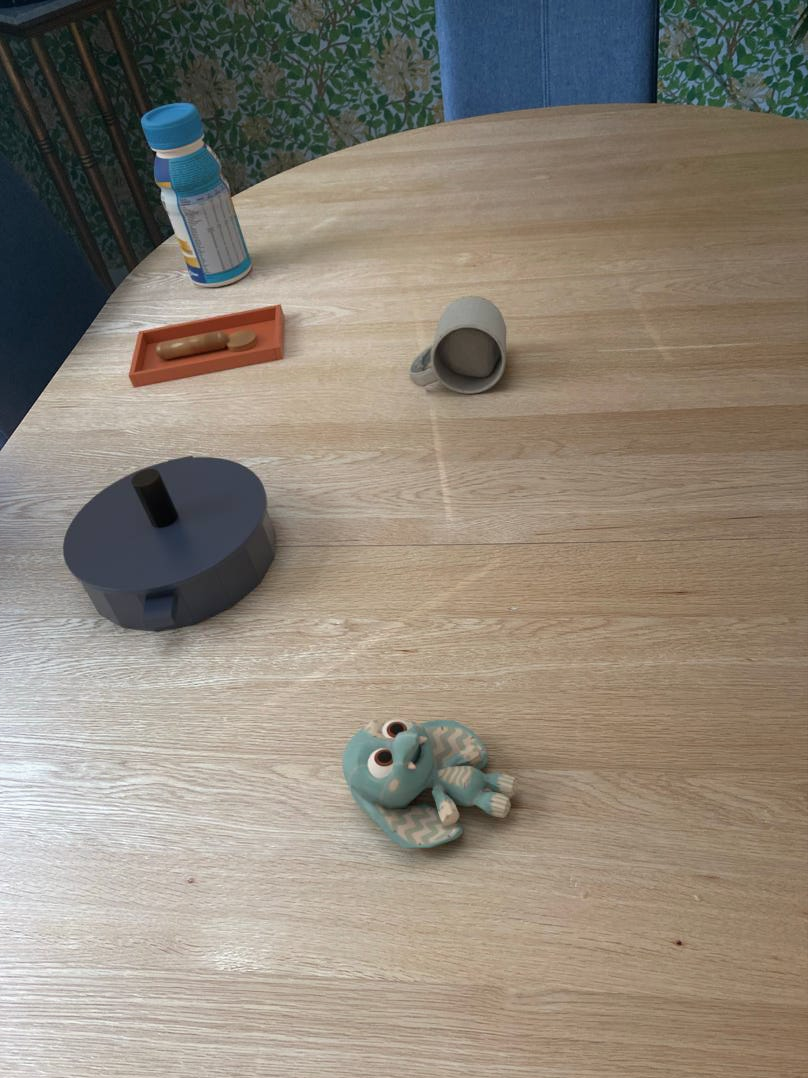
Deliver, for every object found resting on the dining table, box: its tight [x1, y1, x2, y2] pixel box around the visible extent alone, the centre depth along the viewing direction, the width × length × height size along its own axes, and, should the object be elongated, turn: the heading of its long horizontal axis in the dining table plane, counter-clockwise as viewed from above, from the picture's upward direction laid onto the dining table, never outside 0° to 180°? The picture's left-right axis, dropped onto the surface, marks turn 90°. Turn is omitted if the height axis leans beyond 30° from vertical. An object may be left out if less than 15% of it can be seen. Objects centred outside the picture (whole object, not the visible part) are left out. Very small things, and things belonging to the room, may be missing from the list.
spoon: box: [155, 330, 258, 360], centre depth 117 cm, size 12×4×2 cm, turn 97°
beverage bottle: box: [140, 102, 253, 288], centre depth 126 cm, size 8×8×20 cm
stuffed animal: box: [341, 716, 518, 849], centre depth 68 cm, size 11×7×12 cm
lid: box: [62, 456, 268, 595], centre depth 86 cm, size 18×18×6 cm
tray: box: [128, 303, 285, 388], centre depth 117 cm, size 17×10×2 cm, turn 97°
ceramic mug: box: [408, 295, 507, 395], centre depth 105 cm, size 11×8×8 cm
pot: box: [81, 455, 277, 632], centre depth 90 cm, size 17×22×5 cm
